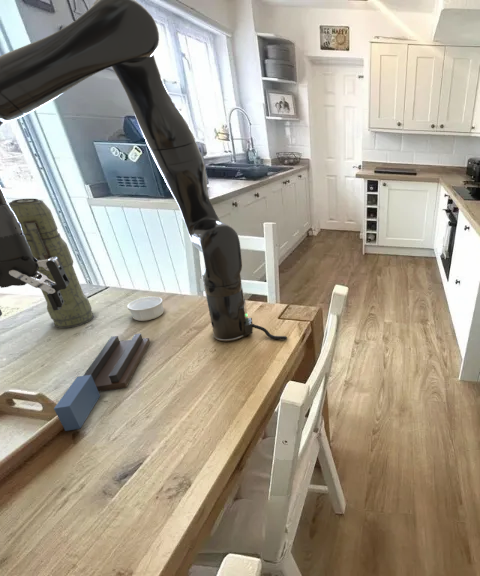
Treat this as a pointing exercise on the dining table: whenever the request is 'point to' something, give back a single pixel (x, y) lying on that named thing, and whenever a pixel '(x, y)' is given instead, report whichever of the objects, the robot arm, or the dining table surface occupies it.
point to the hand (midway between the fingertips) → (28, 312)
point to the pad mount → (117, 362)
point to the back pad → (77, 403)
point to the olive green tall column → (44, 246)
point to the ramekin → (146, 308)
